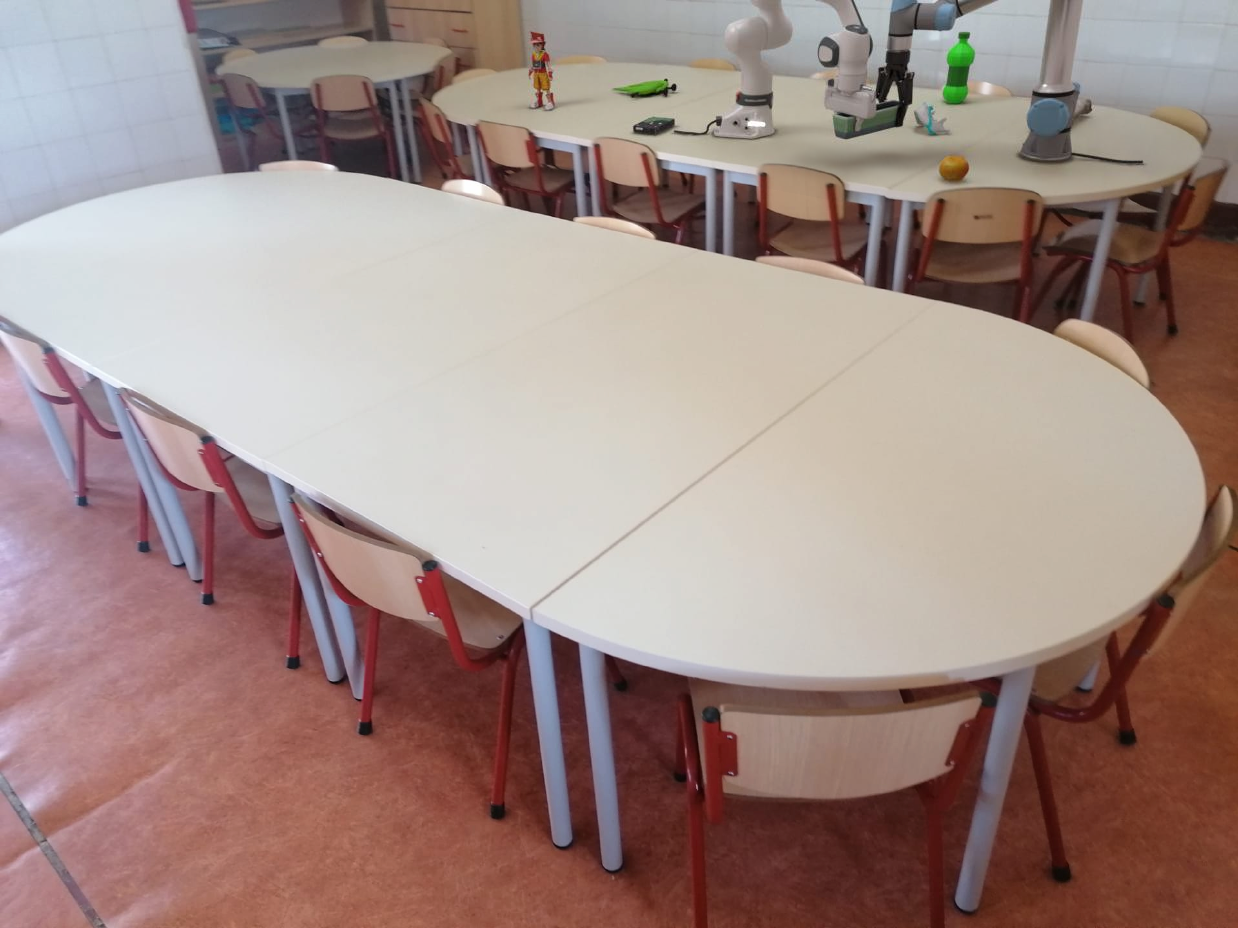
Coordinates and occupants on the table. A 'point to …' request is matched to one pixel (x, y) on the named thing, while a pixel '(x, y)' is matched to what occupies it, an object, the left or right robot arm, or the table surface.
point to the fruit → (954, 168)
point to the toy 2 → (648, 88)
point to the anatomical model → (929, 119)
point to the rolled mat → (1082, 107)
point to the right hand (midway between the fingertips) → (890, 124)
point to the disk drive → (653, 125)
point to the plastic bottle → (958, 69)
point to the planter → (867, 121)
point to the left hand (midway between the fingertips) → (847, 128)
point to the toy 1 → (541, 71)
